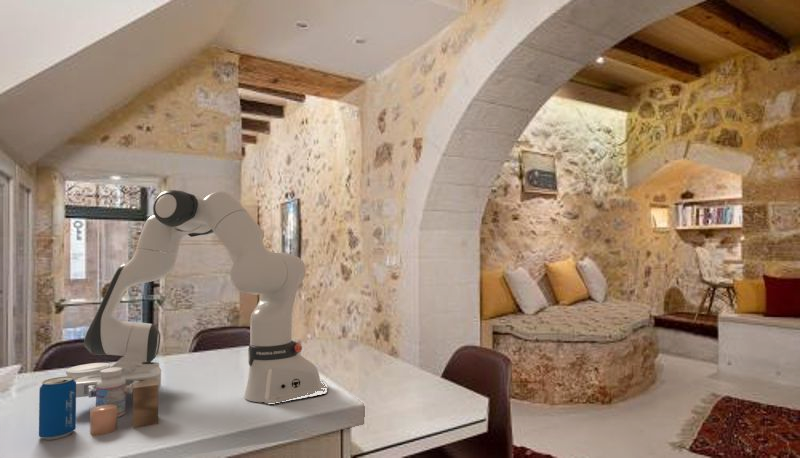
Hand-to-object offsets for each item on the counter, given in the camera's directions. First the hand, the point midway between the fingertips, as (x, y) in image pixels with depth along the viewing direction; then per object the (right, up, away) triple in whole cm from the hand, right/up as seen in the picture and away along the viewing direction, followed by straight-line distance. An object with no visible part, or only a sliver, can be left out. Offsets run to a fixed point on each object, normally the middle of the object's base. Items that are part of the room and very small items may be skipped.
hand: (110, 392), depth 110 cm
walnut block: (+11, -6, -4) cm, 13 cm away
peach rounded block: (+4, -6, -9) cm, 11 cm away
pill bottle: (0, -6, +1) cm, 6 cm away
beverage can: (-5, -6, -11) cm, 13 cm away
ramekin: (-25, -8, +28) cm, 38 cm away
